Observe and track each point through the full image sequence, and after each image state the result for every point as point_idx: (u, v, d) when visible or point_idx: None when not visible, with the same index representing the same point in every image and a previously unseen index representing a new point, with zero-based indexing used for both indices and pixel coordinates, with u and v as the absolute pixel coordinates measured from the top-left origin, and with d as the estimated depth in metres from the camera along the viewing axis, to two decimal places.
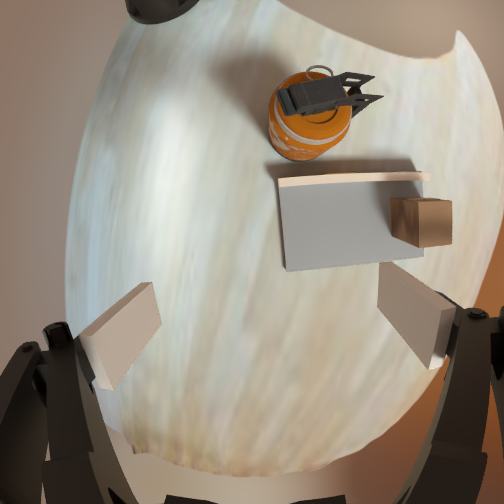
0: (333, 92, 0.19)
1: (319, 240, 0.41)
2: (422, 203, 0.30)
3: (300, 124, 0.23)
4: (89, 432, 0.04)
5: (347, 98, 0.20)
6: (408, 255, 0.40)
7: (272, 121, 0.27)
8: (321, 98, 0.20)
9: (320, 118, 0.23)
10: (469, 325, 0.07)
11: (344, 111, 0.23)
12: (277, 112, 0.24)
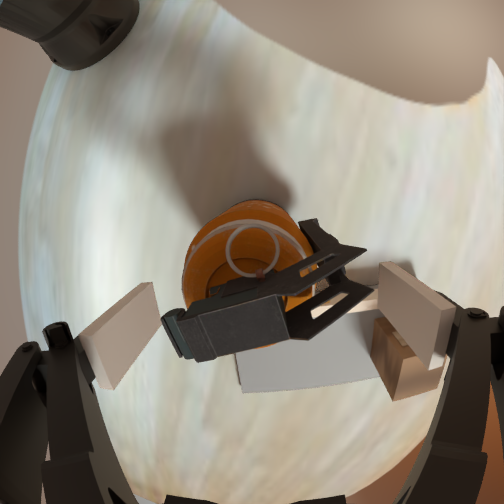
0: (262, 332, 0.12)
1: (279, 367, 0.33)
2: (408, 359, 0.22)
3: None
4: (89, 432, 0.04)
5: (291, 335, 0.12)
6: None
7: None
8: (237, 344, 0.12)
9: None
10: (469, 325, 0.07)
11: None
12: None
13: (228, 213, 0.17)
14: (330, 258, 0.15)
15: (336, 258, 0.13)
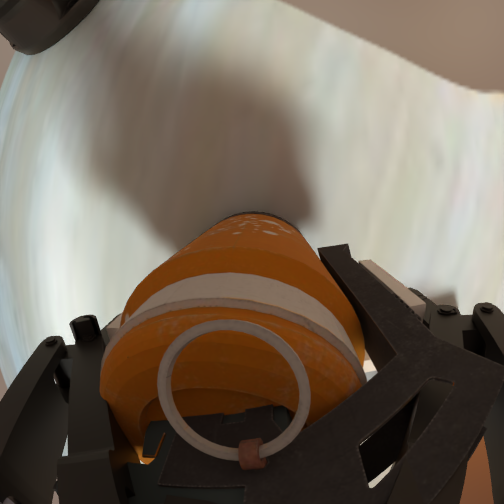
0: None
1: None
2: None
3: None
4: (111, 429, 0.05)
5: None
6: None
7: None
8: None
9: None
10: (439, 322, 0.07)
11: None
12: None
13: (188, 255, 0.08)
14: None
15: (451, 404, 0.03)
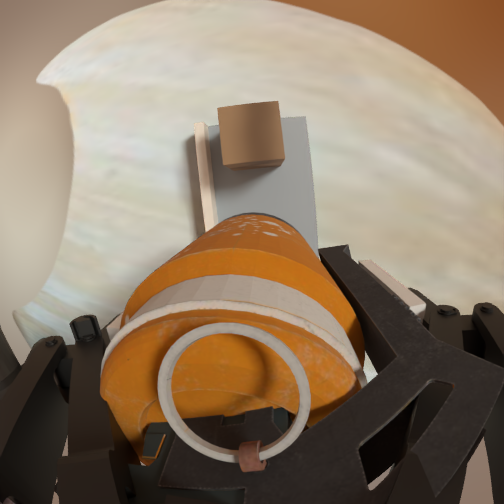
0: None
1: None
2: (224, 158, 0.26)
3: None
4: (111, 429, 0.05)
5: None
6: (304, 139, 0.33)
7: None
8: None
9: None
10: (439, 322, 0.07)
11: None
12: None
13: (188, 257, 0.08)
14: None
15: (450, 407, 0.03)
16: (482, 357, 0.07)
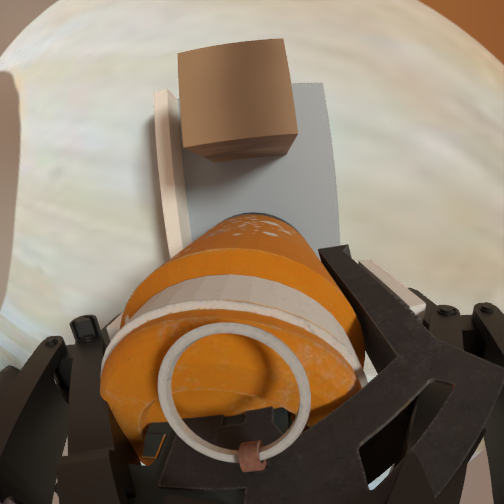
0: None
1: None
2: (186, 135, 0.13)
3: None
4: (111, 429, 0.05)
5: None
6: (321, 115, 0.21)
7: None
8: None
9: None
10: (439, 322, 0.07)
11: None
12: None
13: (188, 256, 0.08)
14: None
15: (451, 406, 0.03)
16: (482, 357, 0.07)
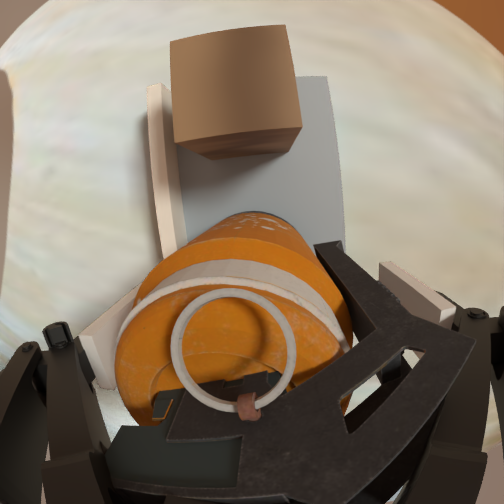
0: None
1: None
2: (177, 129, 0.12)
3: None
4: (89, 432, 0.04)
5: None
6: (325, 110, 0.19)
7: None
8: None
9: None
10: (469, 325, 0.07)
11: None
12: None
13: (195, 245, 0.09)
14: None
15: (421, 367, 0.05)
16: None
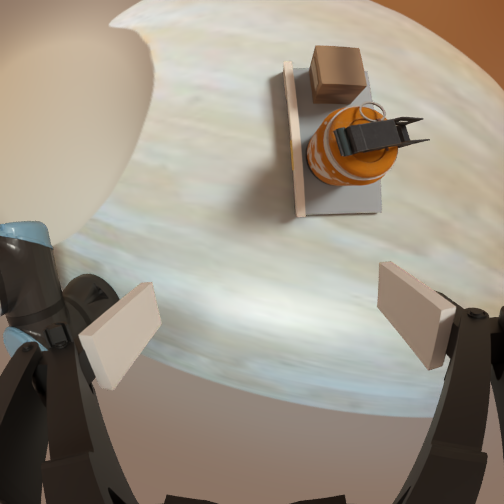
0: (388, 137, 0.20)
1: None
2: (323, 79, 0.28)
3: (351, 162, 0.24)
4: (89, 432, 0.04)
5: (400, 143, 0.20)
6: (366, 87, 0.35)
7: (320, 152, 0.27)
8: (377, 142, 0.20)
9: (369, 157, 0.24)
10: (469, 325, 0.07)
11: (392, 151, 0.23)
12: (328, 146, 0.25)
13: (345, 107, 0.26)
14: (404, 129, 0.23)
15: (411, 119, 0.21)
16: None
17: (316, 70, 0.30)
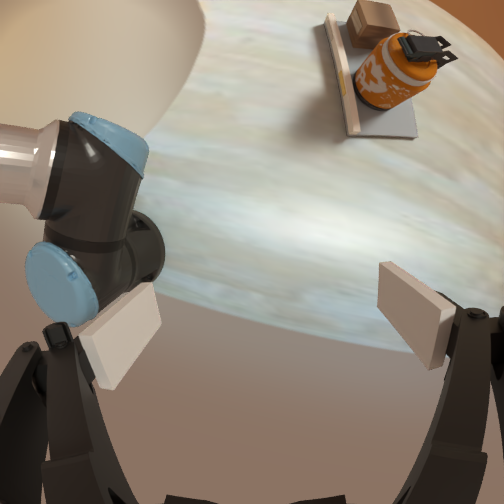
0: (434, 46, 0.19)
1: None
2: (367, 21, 0.27)
3: (408, 66, 0.23)
4: (89, 432, 0.04)
5: (442, 53, 0.19)
6: None
7: (380, 64, 0.26)
8: (428, 48, 0.19)
9: (419, 65, 0.23)
10: (469, 325, 0.07)
11: (434, 64, 0.22)
12: (389, 55, 0.24)
13: None
14: None
15: (443, 43, 0.20)
16: None
17: (359, 17, 0.29)
